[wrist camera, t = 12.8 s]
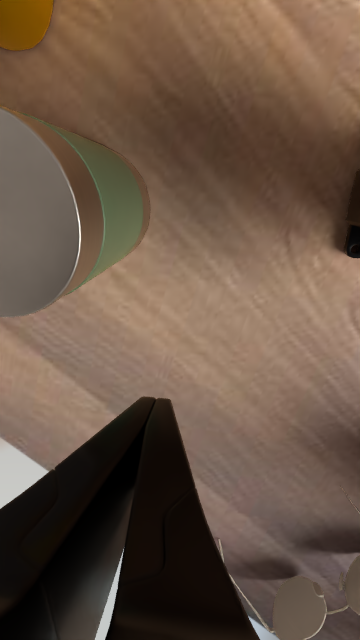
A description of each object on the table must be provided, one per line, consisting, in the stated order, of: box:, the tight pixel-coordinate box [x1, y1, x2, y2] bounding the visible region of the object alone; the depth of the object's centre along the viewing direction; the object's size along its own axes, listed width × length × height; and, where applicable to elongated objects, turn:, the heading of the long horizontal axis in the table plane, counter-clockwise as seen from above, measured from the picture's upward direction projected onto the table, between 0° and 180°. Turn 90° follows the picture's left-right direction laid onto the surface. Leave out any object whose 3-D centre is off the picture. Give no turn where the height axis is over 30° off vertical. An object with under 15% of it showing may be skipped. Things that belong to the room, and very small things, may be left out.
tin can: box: [0, 105, 150, 317], centre depth 14 cm, size 7×7×10 cm
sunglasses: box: [218, 485, 360, 640], centre depth 26 cm, size 14×8×5 cm, turn 133°
